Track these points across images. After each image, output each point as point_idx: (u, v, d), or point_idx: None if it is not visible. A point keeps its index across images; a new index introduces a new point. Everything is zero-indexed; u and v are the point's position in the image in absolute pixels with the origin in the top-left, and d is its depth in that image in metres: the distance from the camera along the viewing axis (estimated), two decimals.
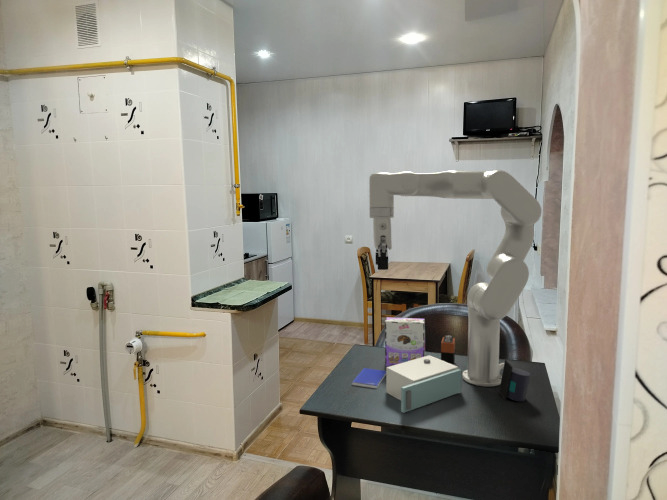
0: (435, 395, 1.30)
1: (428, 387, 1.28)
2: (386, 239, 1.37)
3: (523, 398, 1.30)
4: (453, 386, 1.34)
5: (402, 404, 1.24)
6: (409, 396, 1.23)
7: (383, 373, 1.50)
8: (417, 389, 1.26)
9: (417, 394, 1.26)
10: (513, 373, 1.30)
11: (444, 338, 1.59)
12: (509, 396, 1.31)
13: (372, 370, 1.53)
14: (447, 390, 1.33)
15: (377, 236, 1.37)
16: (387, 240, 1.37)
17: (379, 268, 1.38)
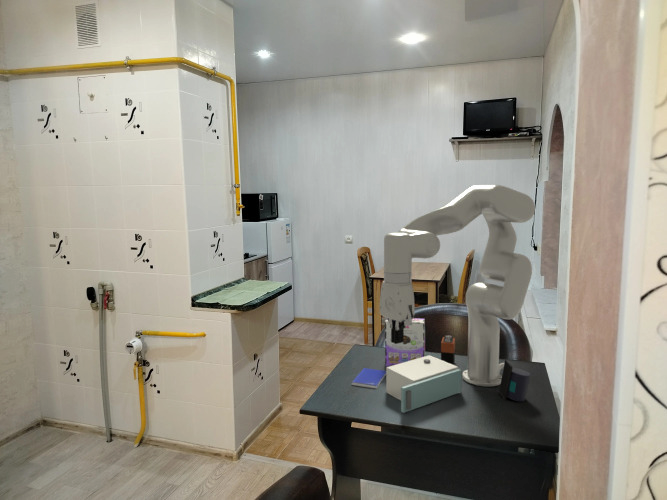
0: (435, 395, 1.30)
1: (428, 387, 1.28)
2: None
3: (523, 398, 1.30)
4: (453, 386, 1.34)
5: (402, 404, 1.24)
6: (409, 396, 1.23)
7: (383, 373, 1.50)
8: (417, 389, 1.26)
9: (417, 394, 1.26)
10: (513, 373, 1.30)
11: (444, 338, 1.59)
12: (509, 396, 1.31)
13: (372, 370, 1.53)
14: (447, 390, 1.33)
15: None
16: None
17: None
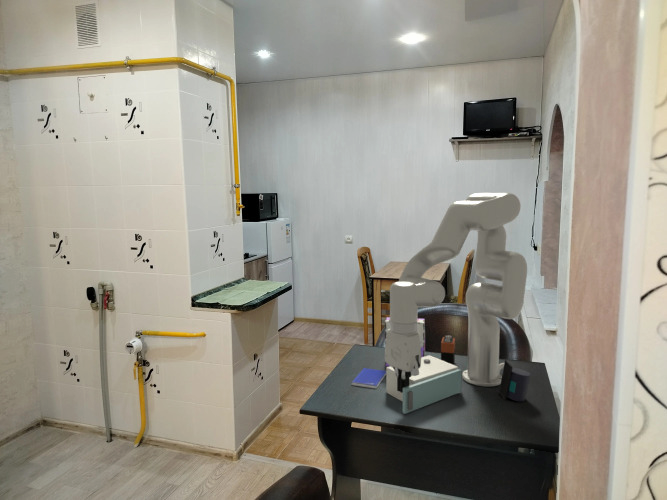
0: (436, 395, 1.30)
1: (429, 387, 1.28)
2: None
3: (523, 398, 1.30)
4: (453, 386, 1.34)
5: (404, 405, 1.23)
6: (411, 397, 1.23)
7: (383, 373, 1.50)
8: (418, 390, 1.26)
9: (418, 394, 1.26)
10: (513, 373, 1.30)
11: (444, 338, 1.59)
12: (509, 396, 1.31)
13: (372, 370, 1.53)
14: (447, 390, 1.33)
15: None
16: None
17: None
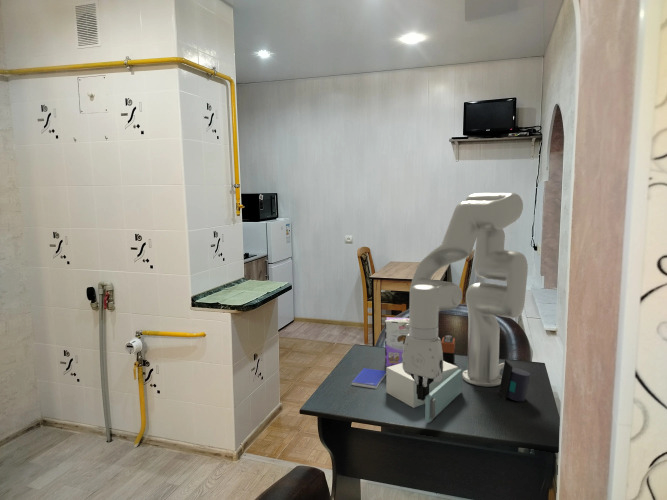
0: (447, 399, 1.28)
1: (443, 392, 1.25)
2: None
3: (523, 398, 1.30)
4: (457, 387, 1.33)
5: (427, 414, 1.18)
6: (434, 404, 1.18)
7: (383, 373, 1.50)
8: (437, 396, 1.22)
9: (437, 401, 1.22)
10: (513, 373, 1.30)
11: (444, 338, 1.59)
12: (509, 396, 1.31)
13: (372, 370, 1.53)
14: (454, 392, 1.32)
15: None
16: None
17: None
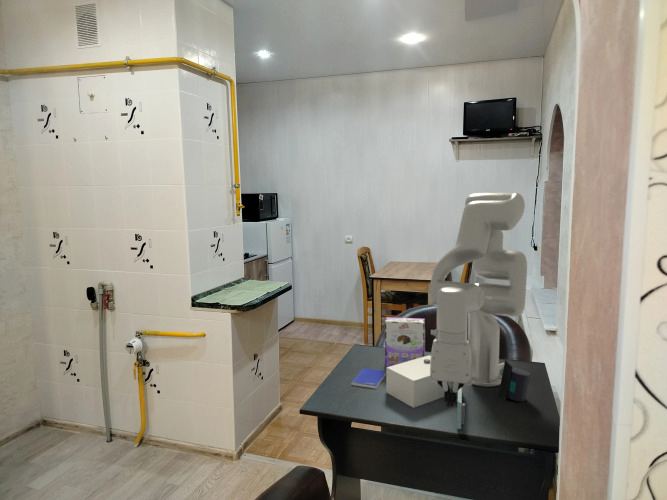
0: None
1: None
2: None
3: (523, 398, 1.30)
4: None
5: (459, 420, 1.15)
6: (464, 409, 1.15)
7: (383, 373, 1.50)
8: None
9: None
10: (513, 373, 1.30)
11: None
12: (509, 396, 1.31)
13: (372, 370, 1.53)
14: None
15: None
16: (430, 366, 1.16)
17: None
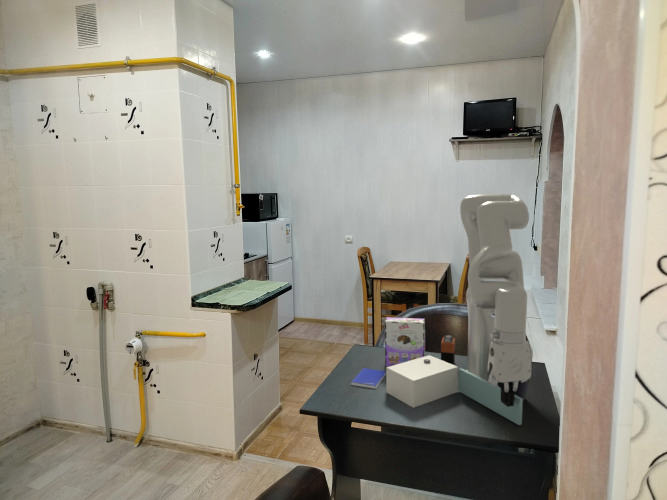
0: None
1: None
2: (493, 368, 1.14)
3: (523, 398, 1.30)
4: None
5: (520, 416, 1.16)
6: None
7: (383, 373, 1.50)
8: None
9: None
10: None
11: (444, 338, 1.59)
12: None
13: (372, 370, 1.53)
14: None
15: (488, 361, 1.16)
16: (493, 370, 1.13)
17: (502, 401, 1.18)
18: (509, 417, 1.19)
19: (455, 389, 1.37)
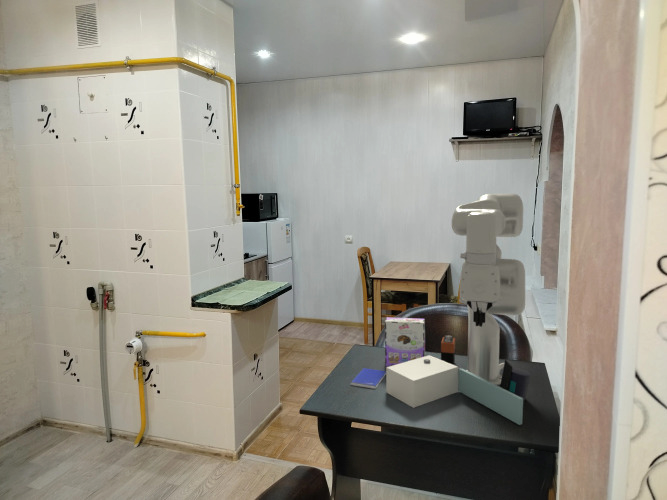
0: None
1: None
2: None
3: (523, 398, 1.30)
4: None
5: (521, 416, 1.16)
6: None
7: (382, 373, 1.50)
8: None
9: None
10: (513, 373, 1.30)
11: (444, 338, 1.59)
12: None
13: (372, 370, 1.53)
14: None
15: None
16: None
17: None
18: (509, 417, 1.19)
19: (455, 389, 1.37)
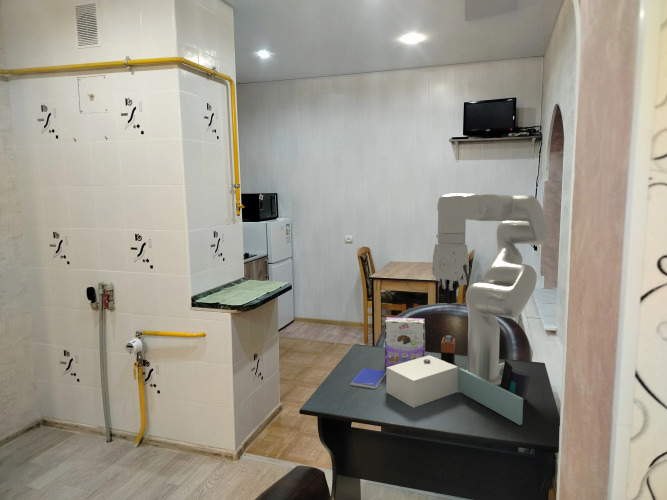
0: None
1: None
2: None
3: (523, 398, 1.30)
4: None
5: (521, 416, 1.16)
6: None
7: (382, 373, 1.50)
8: None
9: None
10: (513, 373, 1.30)
11: (444, 338, 1.59)
12: None
13: (371, 370, 1.53)
14: None
15: None
16: None
17: None
18: (509, 417, 1.19)
19: (455, 389, 1.37)
